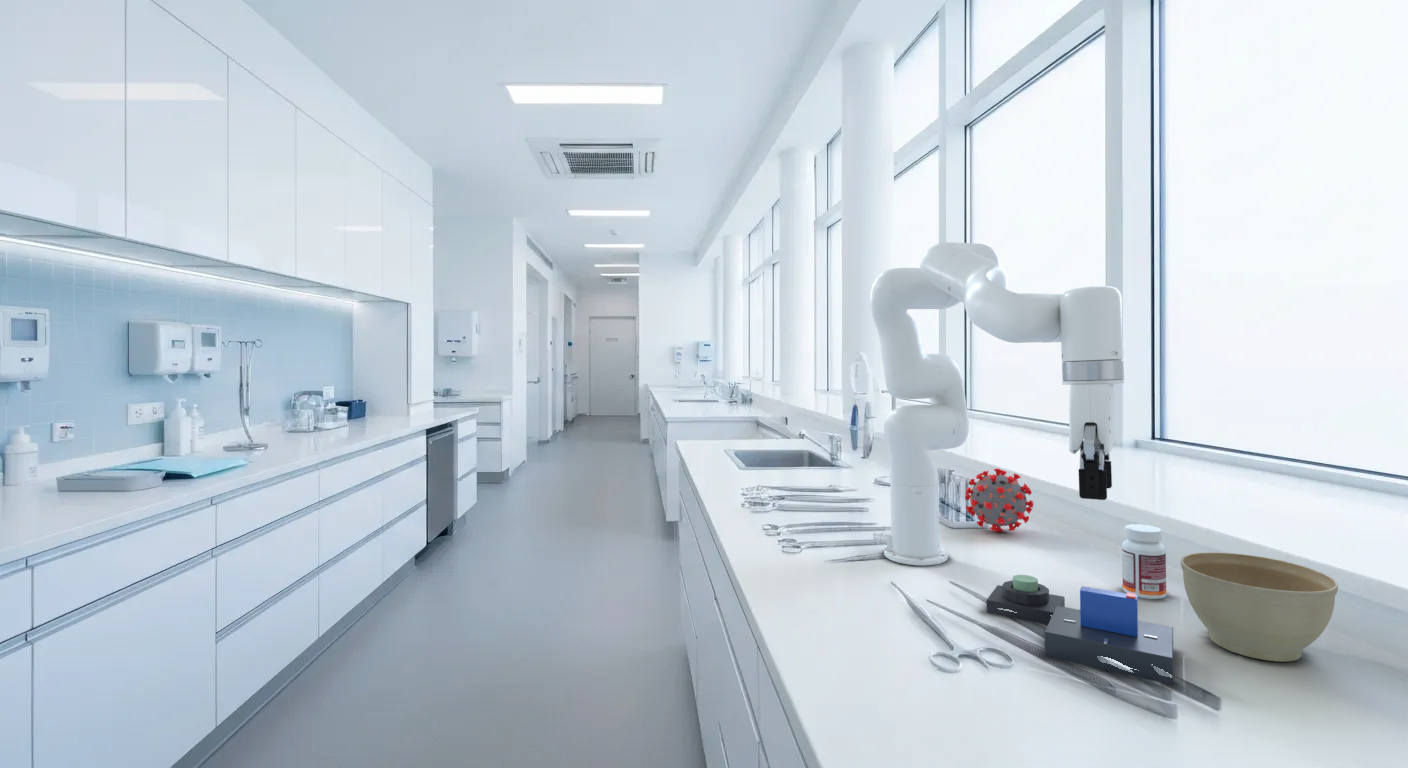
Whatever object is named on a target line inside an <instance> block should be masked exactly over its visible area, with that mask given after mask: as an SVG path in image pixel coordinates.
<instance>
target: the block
mask: <svg viewBox="0 0 1408 768" xmlns="http://www.w3.org/2000/svg"><path fill="white" fill-rule="evenodd" d="M1065 598H1066V597H1065V596H1063V595H1058V594H1052V593H1050V589H1049V588H1048V587H1047V586H1046V585H1044V584H1042V583H1038V591H1036V592H1025V591H1019V590H1017V589H1014V588H1013V579H1012V580H1007V581H1004V582H1003V583H1002V585H1000V584H997V585H996V586H995V588H994V589H993V591H991V593H990V595H988V597H987V599H986V600H985V601H986V614H991V615H997V616H1000V617H1001V616H1002V617H1006V618H1007V617H1008V618H1012V619H1018V620H1022V621H1026V622H1027V621H1028V622H1032V623H1037V624H1042V625H1047V626H1048V624H1049V622H1050V619H1051V616H1050V615H1053V613H1054V611H1055V609H1056V606H1061V607H1066V605H1065V601H1066V599H1065ZM997 608H1003V609H1009V610H1012V611H1014V612H1017V613H1014V612H1009V611H1004V610H999V609H997Z"/></svg>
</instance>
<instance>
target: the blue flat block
mask: <svg viewBox="0 0 1408 768" xmlns="http://www.w3.org/2000/svg"><path fill="white" fill-rule="evenodd" d="M1079 607H1080V608H1079V610H1080V625H1081V626H1084V627H1089V628H1094V629H1099V630H1104V631H1109V632H1115V633H1120V634H1125V635H1130V636H1135V637H1137V636H1138V621H1139V597H1138V595H1136V593H1130V592H1127V593H1126V592H1120V591H1113V590H1108V589H1101V588H1095V587H1089V586H1083V585H1082V586H1081V587H1080V589H1079Z"/></svg>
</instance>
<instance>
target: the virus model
mask: <svg viewBox="0 0 1408 768" xmlns="http://www.w3.org/2000/svg"><path fill="white" fill-rule="evenodd" d="M993 471H994V472H995V474H989V470H983V471H982V472H980V473H978V474H977V475H976V476H975V478H976V479H975V478H971V479H969V481H968V485H969V487H967V488H966V489H965V496H964V500H966V501H967V502H968V501H969V502H970V506H968V505H966V506H965V510H966V511H967V512H968V513H969V514H970V515H971V517H974V516H975V515H976V516H977V517H976V518H977V519H978V520H977V521H976V524H977V526H978V527H980V528H984V523H985V524H986V525H988V524H989V525H991V527H989V530H990V531H993V532H997V533H1003V531H1004V529H1003V528H1002V527H1007V526H1008V531H1009V532H1012V531H1015V530H1016V529H1017V528H1020V526H1021V525H1022V524H1023V523H1022V522H1019V520H1021V521H1023V522H1024V524H1026V523H1027V522H1029V520H1030V516H1028V515H1026V514H1025V512H1027V513H1028V514H1031V512H1032V511H1033V508H1034V500H1032V499H1030V500H1029V501H1028V499H1027V494H1028V495H1029V496H1031V494H1033V492H1032V490H1031V488H1030V487H1029V485H1028V484H1026V483H1023V485H1022V486H1021V484H1019V482H1018V481H1019V480H1018V479H1021V478H1022V476H1021V475H1019V474H1018V473H1013V474H1012V475H1008V476H1007V473H1008V472H1007V471H1006V470H1003V469H1000V468H993ZM976 480H977V482H976ZM970 486H973V487H970Z"/></svg>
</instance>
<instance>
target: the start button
mask: <svg viewBox="0 0 1408 768" xmlns="http://www.w3.org/2000/svg"><path fill="white" fill-rule="evenodd" d="M1038 579H1039V578H1037V577H1035V576H1032V575H1027V574H1016V575H1013V576H1012V580H1013V588H1014V589H1017V590H1019V591H1025V592H1036V591H1038V584H1039V580H1038Z"/></svg>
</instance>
